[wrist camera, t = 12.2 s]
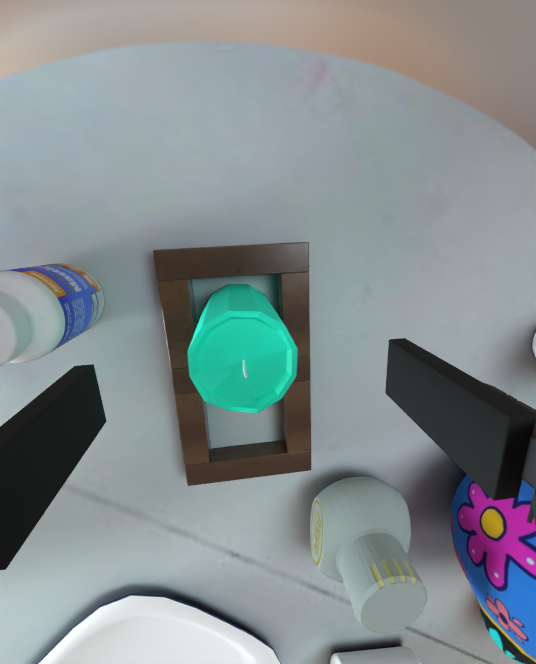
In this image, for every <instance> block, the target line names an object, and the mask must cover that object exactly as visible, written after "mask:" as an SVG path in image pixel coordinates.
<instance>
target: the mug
mask: <svg viewBox="0 0 536 664" xmlns="http://www.w3.org/2000/svg"><path fill="white" fill-rule="evenodd" d="M330 664H422V663H421V661H420V659H419V658H418V656H417V655H416V654H415V652H414V651H413V650H412V649H410V648H409V647H407V646H401V647H391V648H381V649H372V650H362V651H352V652H343V653H334V654H333V655H332V656H331V659H330Z"/></svg>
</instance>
